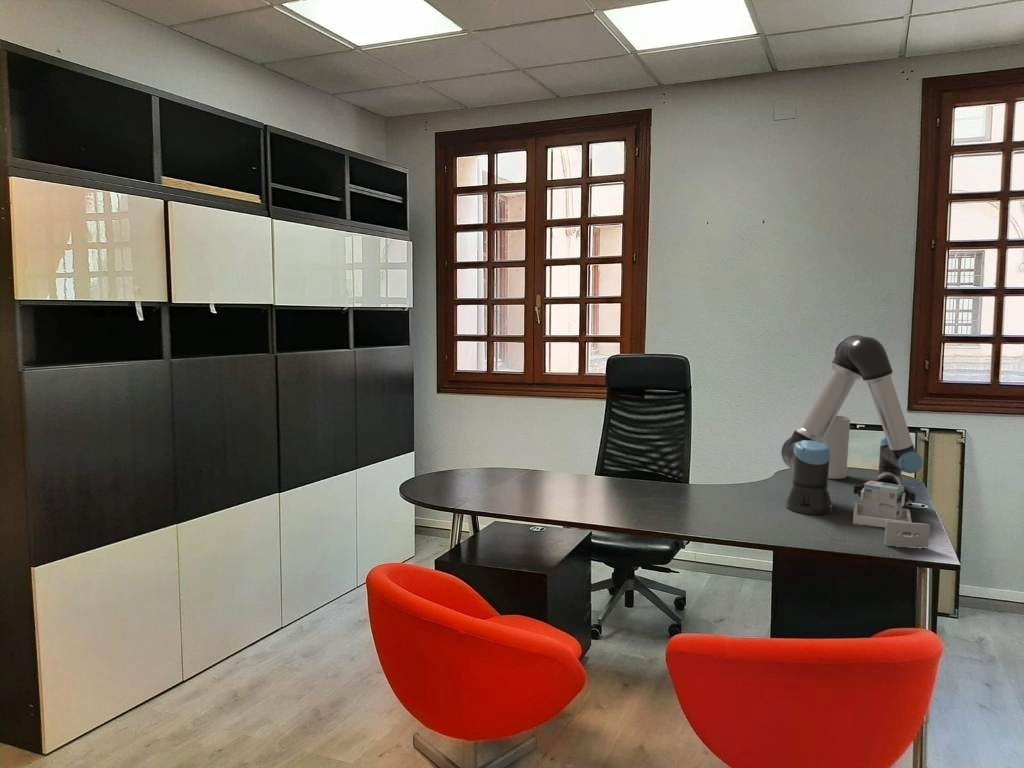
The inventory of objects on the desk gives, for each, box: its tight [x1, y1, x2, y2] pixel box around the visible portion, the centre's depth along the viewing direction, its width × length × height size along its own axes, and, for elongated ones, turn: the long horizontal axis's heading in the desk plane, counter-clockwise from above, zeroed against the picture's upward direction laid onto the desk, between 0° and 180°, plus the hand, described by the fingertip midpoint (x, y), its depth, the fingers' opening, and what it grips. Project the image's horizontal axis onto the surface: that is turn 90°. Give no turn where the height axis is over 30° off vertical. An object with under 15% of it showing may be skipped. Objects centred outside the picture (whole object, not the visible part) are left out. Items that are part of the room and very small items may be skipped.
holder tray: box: [852, 502, 913, 527], centre depth 249 cm, size 17×17×3 cm
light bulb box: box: [862, 480, 904, 520], centre depth 248 cm, size 11×7×11 cm, turn 47°
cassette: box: [883, 521, 931, 548], centre depth 223 cm, size 12×2×8 cm, turn 77°
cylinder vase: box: [824, 414, 851, 480], centre depth 311 cm, size 12×12×25 cm
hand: (882, 499), depth 245 cm, fingers closed on light bulb box, 11 cm apart
